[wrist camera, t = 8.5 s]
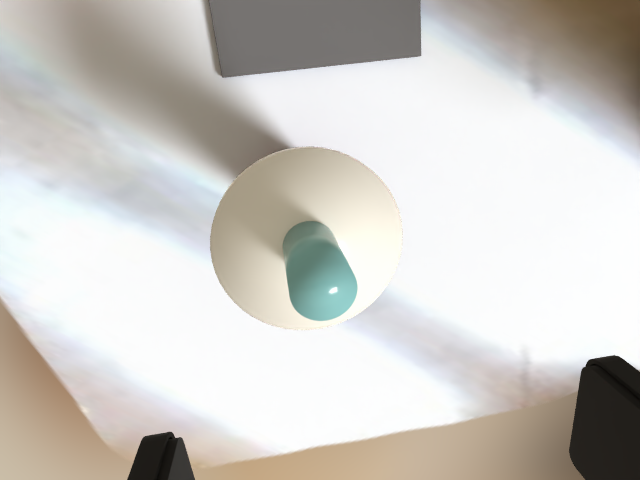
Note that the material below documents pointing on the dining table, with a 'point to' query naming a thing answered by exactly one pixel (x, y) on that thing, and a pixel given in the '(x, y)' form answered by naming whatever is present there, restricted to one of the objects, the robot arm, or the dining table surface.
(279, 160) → the lid
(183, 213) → the dining table surface
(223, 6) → the mat
